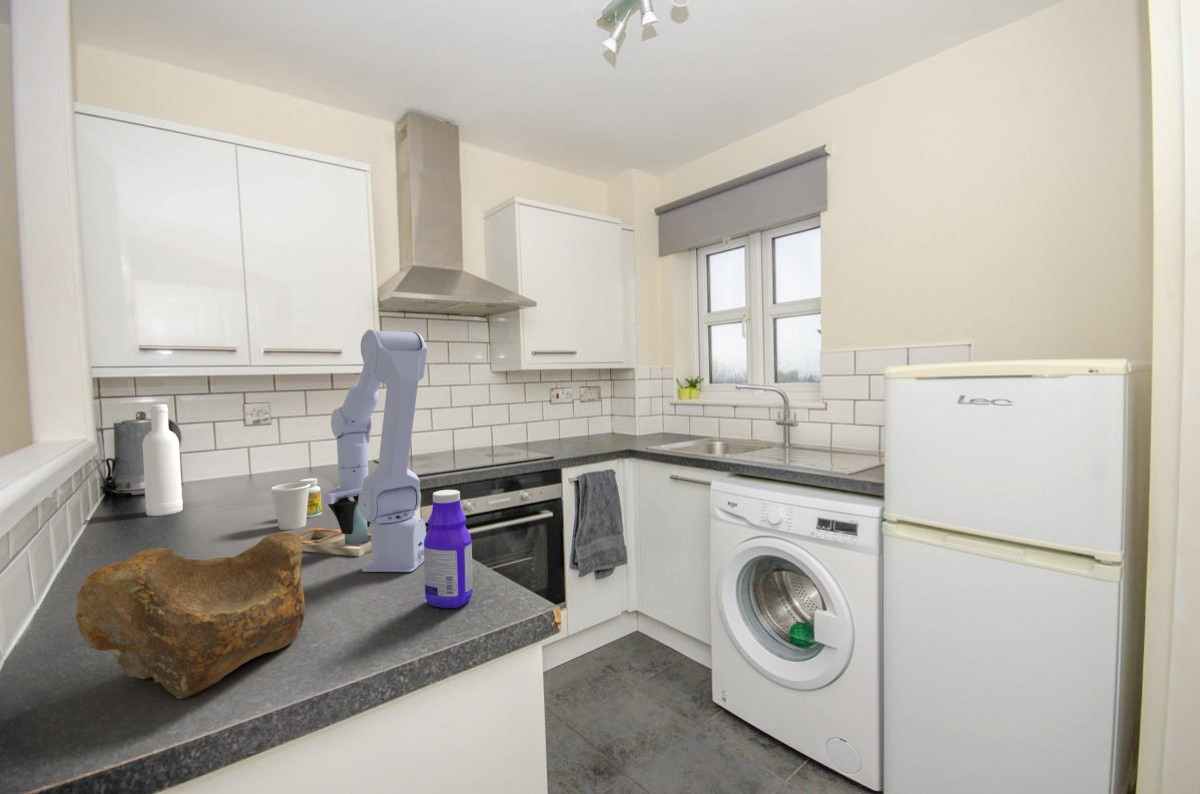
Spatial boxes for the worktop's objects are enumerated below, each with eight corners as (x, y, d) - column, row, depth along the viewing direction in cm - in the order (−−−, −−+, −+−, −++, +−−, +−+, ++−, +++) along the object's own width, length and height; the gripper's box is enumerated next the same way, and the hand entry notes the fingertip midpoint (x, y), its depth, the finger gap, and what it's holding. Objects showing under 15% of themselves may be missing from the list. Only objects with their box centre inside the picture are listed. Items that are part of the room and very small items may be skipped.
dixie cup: (274, 524, 130) (272, 484, 129) (312, 520, 134) (310, 481, 133) (270, 533, 122) (268, 491, 122) (311, 528, 126) (309, 486, 126)
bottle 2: (479, 597, 83) (476, 489, 83) (459, 613, 78) (454, 497, 77) (441, 592, 86) (437, 487, 85) (418, 607, 80) (414, 494, 80)
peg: (371, 538, 113) (370, 501, 112) (361, 544, 108) (359, 506, 108) (352, 538, 113) (350, 501, 113) (340, 544, 109) (338, 506, 108)
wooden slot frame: (391, 541, 114) (391, 533, 114) (359, 556, 105) (359, 547, 105) (315, 535, 120) (314, 527, 120) (278, 548, 111) (278, 540, 111)
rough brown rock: (77, 759, 50) (74, 609, 49) (77, 677, 62) (74, 554, 61) (334, 668, 67) (337, 554, 66) (296, 617, 79) (297, 519, 77)
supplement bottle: (320, 512, 142) (319, 476, 142) (323, 516, 137) (321, 479, 137) (297, 515, 139) (296, 479, 139) (299, 519, 134) (297, 482, 134)
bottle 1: (169, 508, 150) (163, 404, 149) (190, 509, 148) (184, 403, 147) (138, 515, 143) (132, 405, 142) (160, 516, 141) (153, 405, 140)
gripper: (362, 460, 118) (365, 519, 119) (309, 471, 104) (312, 539, 105) (388, 460, 116) (391, 521, 116) (338, 472, 102) (341, 541, 103)
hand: (356, 530), depth 110 cm, fingers closed on peg, 4 cm apart
